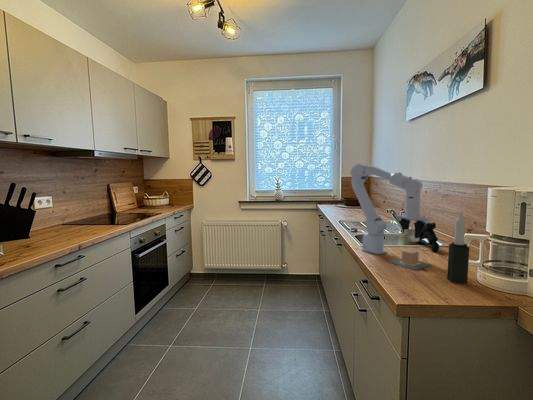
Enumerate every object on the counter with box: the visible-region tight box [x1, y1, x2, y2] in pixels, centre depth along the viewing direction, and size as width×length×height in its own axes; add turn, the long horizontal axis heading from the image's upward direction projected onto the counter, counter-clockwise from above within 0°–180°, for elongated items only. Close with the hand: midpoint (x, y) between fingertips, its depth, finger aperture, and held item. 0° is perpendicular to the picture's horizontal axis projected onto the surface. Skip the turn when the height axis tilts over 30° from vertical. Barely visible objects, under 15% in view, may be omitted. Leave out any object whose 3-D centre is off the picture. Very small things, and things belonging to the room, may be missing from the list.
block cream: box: [403, 228, 419, 243], centre depth 127 cm, size 4×4×5 cm
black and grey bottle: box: [446, 211, 470, 285], centre depth 99 cm, size 5×5×25 cm
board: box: [388, 257, 432, 271], centre depth 120 cm, size 12×11×1 cm
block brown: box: [401, 248, 420, 265], centre depth 119 cm, size 4×4×5 cm
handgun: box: [416, 222, 440, 253], centre depth 148 cm, size 5×23×15 cm, turn 174°
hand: (411, 236), depth 127 cm, fingers closed on block cream, 4 cm apart
